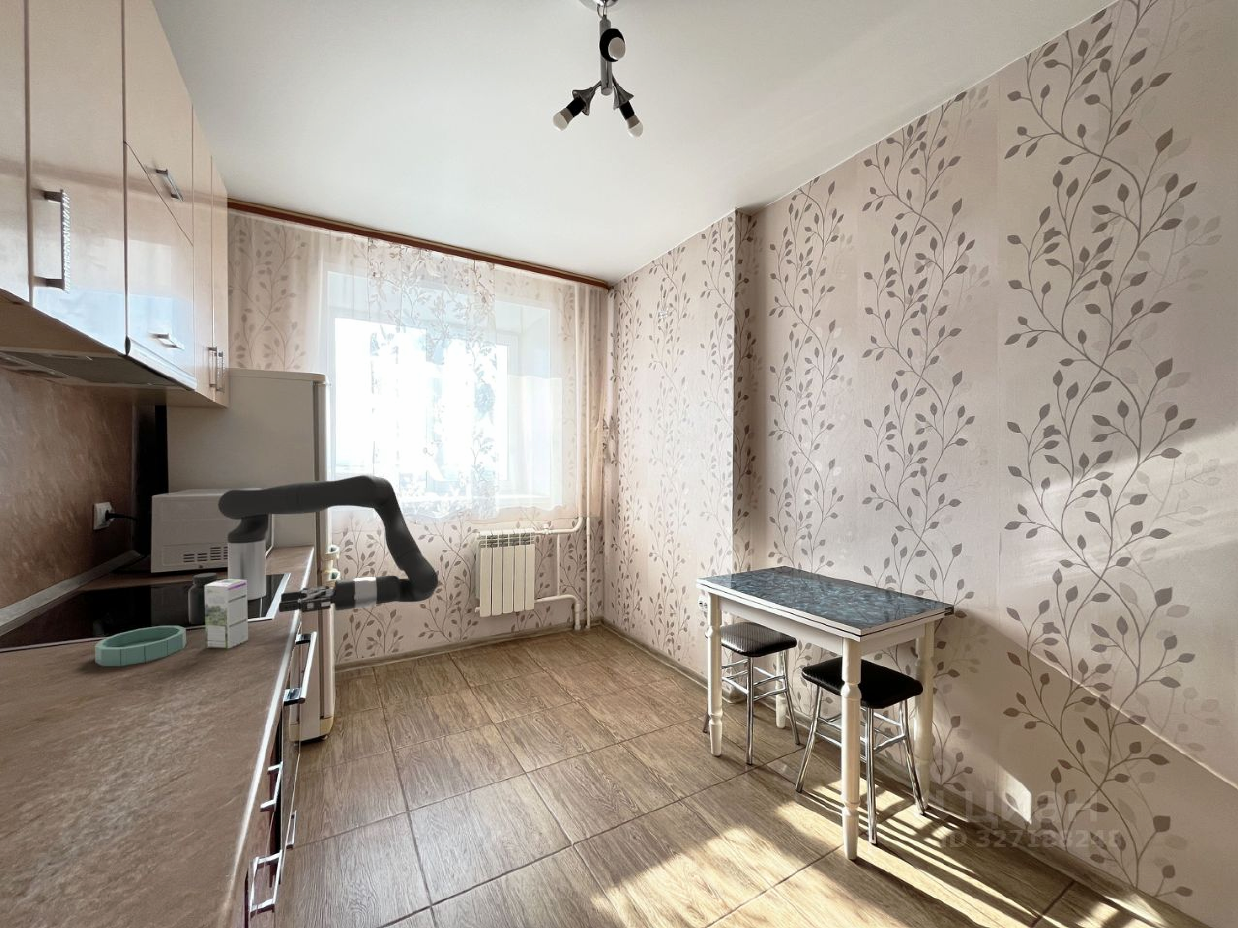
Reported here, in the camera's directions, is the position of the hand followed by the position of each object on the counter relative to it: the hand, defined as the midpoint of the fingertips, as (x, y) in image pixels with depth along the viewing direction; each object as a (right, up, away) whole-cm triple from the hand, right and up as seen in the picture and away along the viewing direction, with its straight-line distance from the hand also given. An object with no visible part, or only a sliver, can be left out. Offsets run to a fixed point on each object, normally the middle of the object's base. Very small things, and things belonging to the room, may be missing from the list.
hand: (280, 602), depth 121 cm
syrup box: (-8, -8, -5) cm, 13 cm away
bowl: (-23, -8, -11) cm, 27 cm away
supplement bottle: (-27, -8, +11) cm, 30 cm away
